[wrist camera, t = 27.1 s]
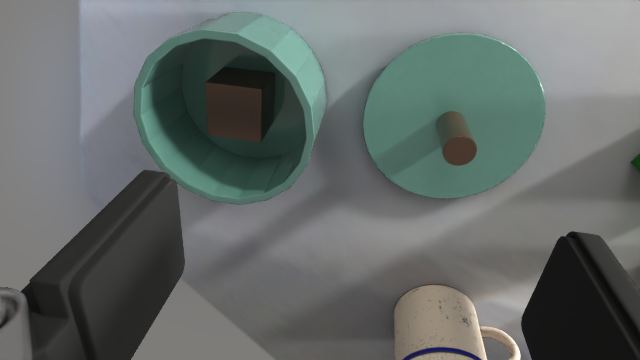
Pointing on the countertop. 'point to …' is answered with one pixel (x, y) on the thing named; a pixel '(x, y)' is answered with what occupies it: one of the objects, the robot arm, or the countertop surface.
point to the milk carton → (636, 162)
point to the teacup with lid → (442, 327)
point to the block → (240, 103)
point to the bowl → (191, 114)
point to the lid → (454, 115)
